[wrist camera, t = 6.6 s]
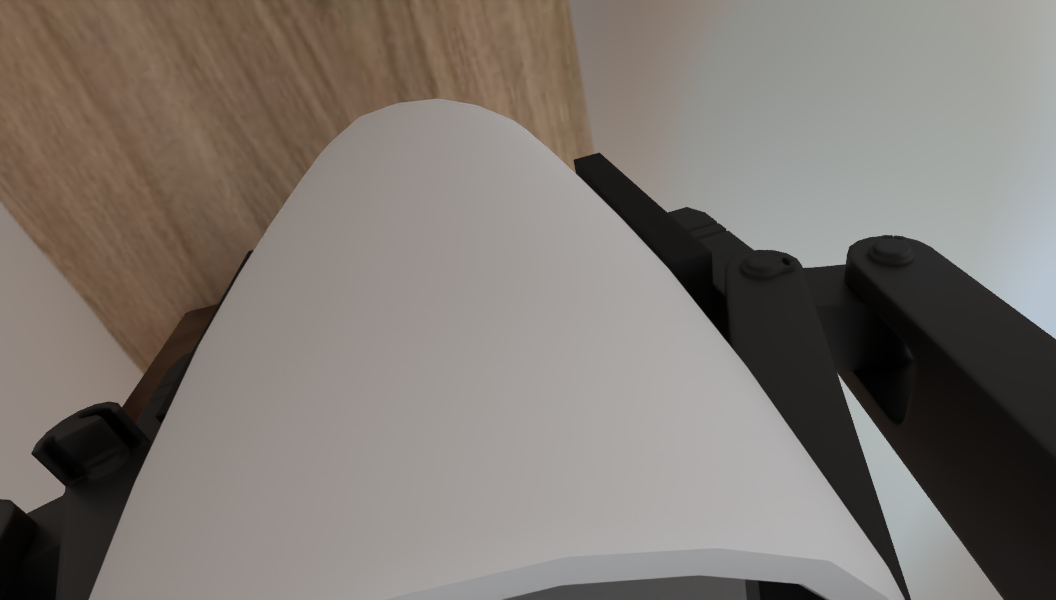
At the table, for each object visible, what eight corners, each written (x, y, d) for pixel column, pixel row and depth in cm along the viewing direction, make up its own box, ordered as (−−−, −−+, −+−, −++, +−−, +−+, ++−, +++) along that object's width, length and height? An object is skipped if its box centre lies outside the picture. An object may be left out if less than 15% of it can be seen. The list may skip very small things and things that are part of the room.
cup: (584, 83, 16) (1178, 425, 4) (558, 328, 20) (795, 859, 8) (267, 72, 14) (-550, 646, 2) (312, 342, 18) (139, 1048, 6)
